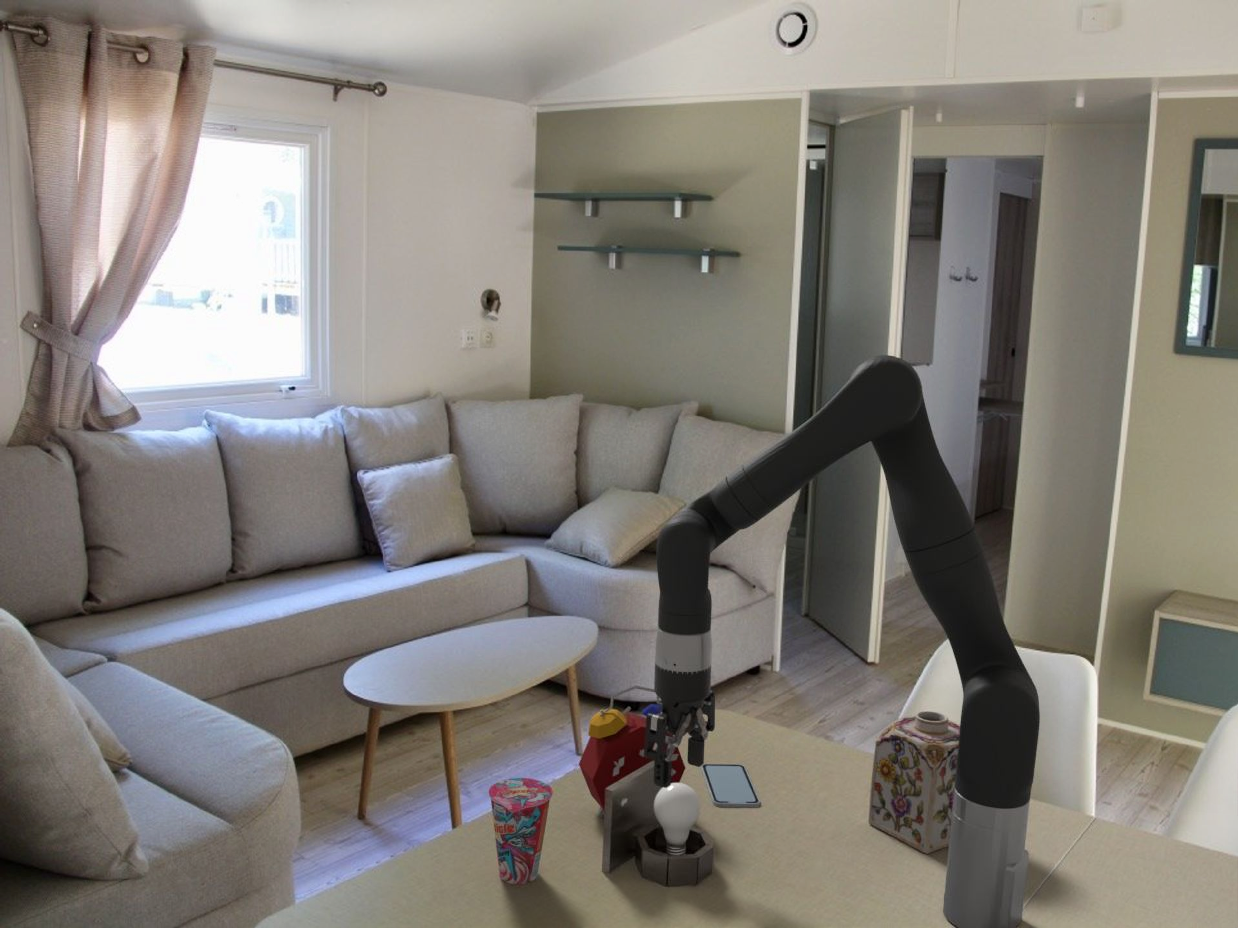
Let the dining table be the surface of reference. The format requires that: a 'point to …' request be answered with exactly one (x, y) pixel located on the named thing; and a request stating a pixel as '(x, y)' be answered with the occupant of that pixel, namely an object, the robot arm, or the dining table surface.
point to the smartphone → (730, 785)
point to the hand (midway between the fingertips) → (679, 774)
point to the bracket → (649, 835)
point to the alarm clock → (619, 748)
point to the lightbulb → (676, 815)
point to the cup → (519, 826)
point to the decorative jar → (915, 780)
